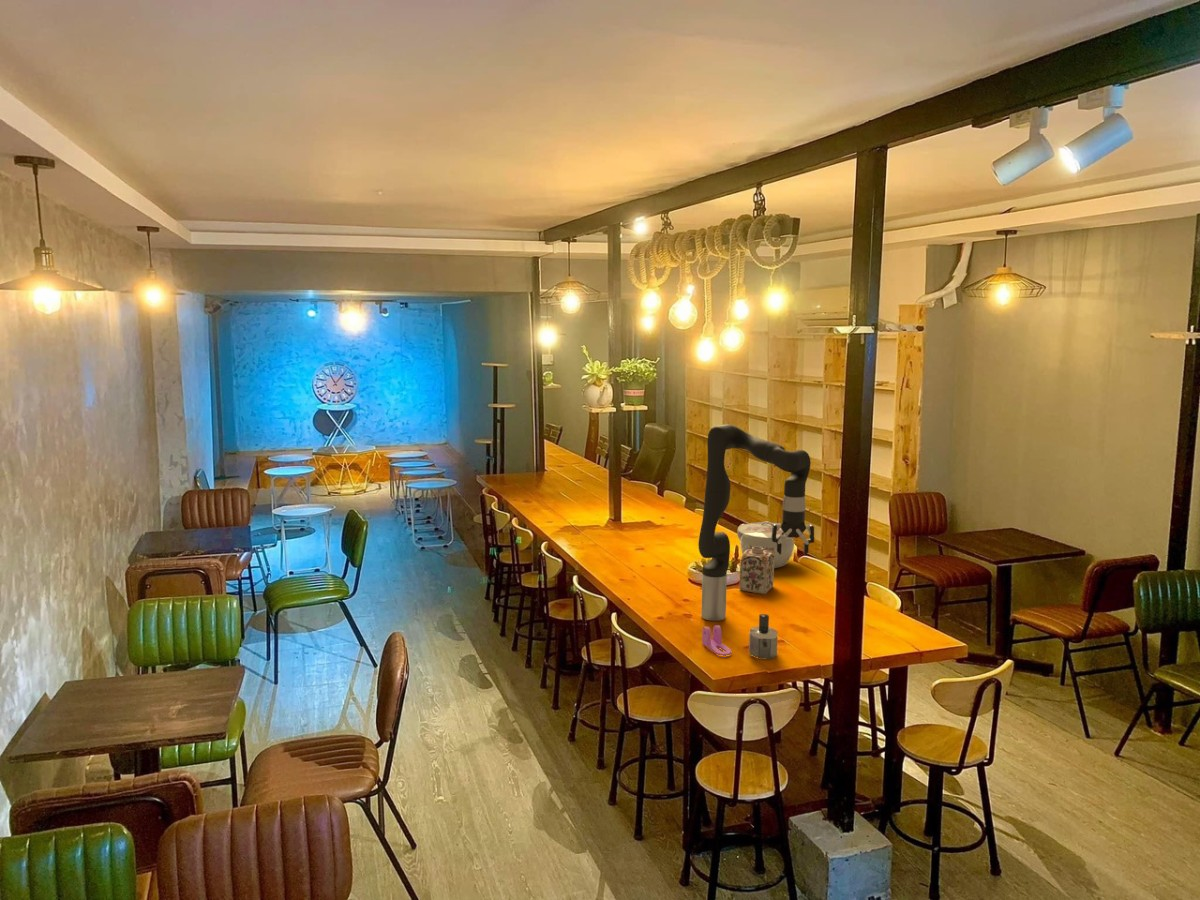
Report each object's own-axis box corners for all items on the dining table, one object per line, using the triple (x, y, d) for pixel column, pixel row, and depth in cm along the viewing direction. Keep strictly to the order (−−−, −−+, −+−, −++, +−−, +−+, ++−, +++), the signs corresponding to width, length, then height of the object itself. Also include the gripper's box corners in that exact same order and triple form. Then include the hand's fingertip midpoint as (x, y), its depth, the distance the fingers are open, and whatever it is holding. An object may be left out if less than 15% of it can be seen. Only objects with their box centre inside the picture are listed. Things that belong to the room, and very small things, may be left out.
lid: (748, 629, 288) (748, 610, 287) (775, 629, 288) (775, 611, 287) (751, 639, 279) (752, 620, 278) (779, 640, 279) (779, 621, 277)
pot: (747, 646, 291) (748, 627, 290) (773, 647, 291) (774, 627, 289) (751, 661, 279) (751, 641, 278) (778, 662, 278) (779, 642, 277)
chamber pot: (802, 574, 372) (804, 529, 368) (741, 573, 372) (742, 528, 369) (789, 555, 399) (791, 514, 396) (732, 555, 400) (733, 513, 397)
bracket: (702, 644, 293) (702, 625, 292) (716, 642, 295) (716, 623, 294) (719, 658, 281) (720, 639, 280) (734, 656, 283) (734, 637, 282)
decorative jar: (738, 590, 350) (739, 549, 347) (747, 582, 360) (748, 542, 357) (766, 595, 344) (767, 553, 341) (774, 586, 354) (775, 546, 351)
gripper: (813, 506, 288) (811, 551, 290) (771, 505, 289) (770, 550, 292) (817, 511, 280) (814, 557, 283) (774, 510, 282) (772, 556, 284)
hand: (792, 553), depth 287 cm, fingers open, 8 cm apart
